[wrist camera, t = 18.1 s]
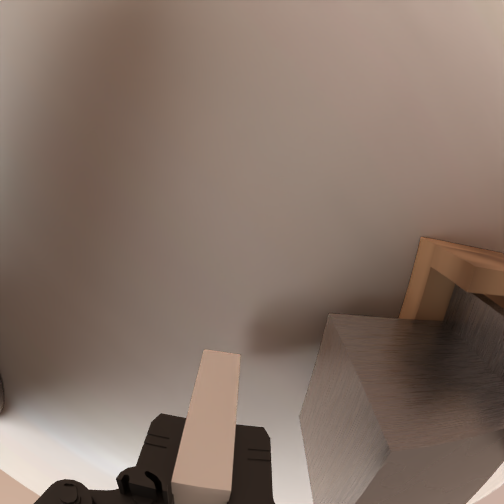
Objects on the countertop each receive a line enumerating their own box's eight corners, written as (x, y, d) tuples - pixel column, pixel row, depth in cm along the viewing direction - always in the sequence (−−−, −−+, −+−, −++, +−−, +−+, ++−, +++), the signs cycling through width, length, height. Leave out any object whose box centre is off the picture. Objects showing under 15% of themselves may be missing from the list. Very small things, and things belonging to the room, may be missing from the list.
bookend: (291, 440, 15) (305, 560, 8) (339, 267, 13) (426, 387, 5) (400, 436, 16) (442, 532, 8) (467, 283, 13) (573, 364, 6)
